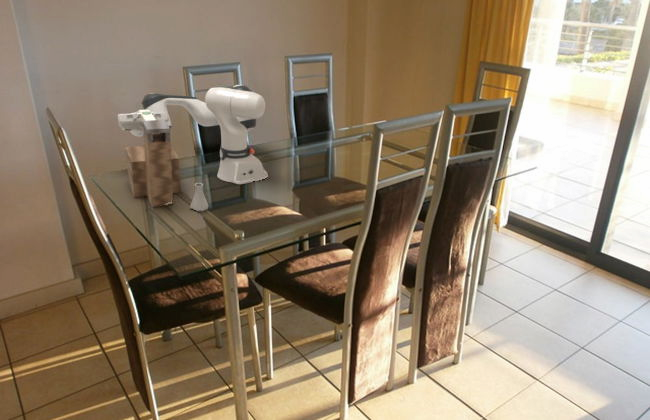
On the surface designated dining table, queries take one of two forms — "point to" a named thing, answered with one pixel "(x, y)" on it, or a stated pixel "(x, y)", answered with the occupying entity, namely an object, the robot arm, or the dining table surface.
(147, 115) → the gauge bar
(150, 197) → the walnut holder
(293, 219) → the dining table surface
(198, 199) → the flask
